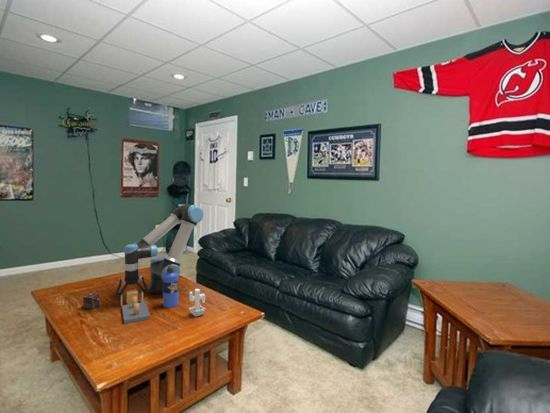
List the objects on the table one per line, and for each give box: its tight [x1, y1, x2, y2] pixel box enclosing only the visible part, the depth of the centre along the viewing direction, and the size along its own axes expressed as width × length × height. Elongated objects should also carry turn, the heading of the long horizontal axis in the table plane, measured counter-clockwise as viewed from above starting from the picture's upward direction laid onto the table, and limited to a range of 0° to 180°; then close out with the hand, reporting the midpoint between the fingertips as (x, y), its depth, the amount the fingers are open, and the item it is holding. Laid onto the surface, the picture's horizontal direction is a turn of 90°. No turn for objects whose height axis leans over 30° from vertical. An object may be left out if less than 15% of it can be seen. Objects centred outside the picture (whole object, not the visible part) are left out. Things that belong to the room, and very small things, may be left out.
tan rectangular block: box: [125, 289, 139, 305], centre depth 190 cm, size 6×6×8 cm
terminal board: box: [121, 296, 151, 325], centre depth 176 cm, size 13×22×8 cm, turn 29°
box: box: [82, 293, 100, 310], centre depth 184 cm, size 6×6×7 cm
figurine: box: [188, 288, 207, 317], centre depth 177 cm, size 7×9×15 cm
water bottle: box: [162, 265, 179, 309], centre depth 189 cm, size 9×9×25 cm
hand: (132, 303), depth 190 cm, fingers open, 11 cm apart
